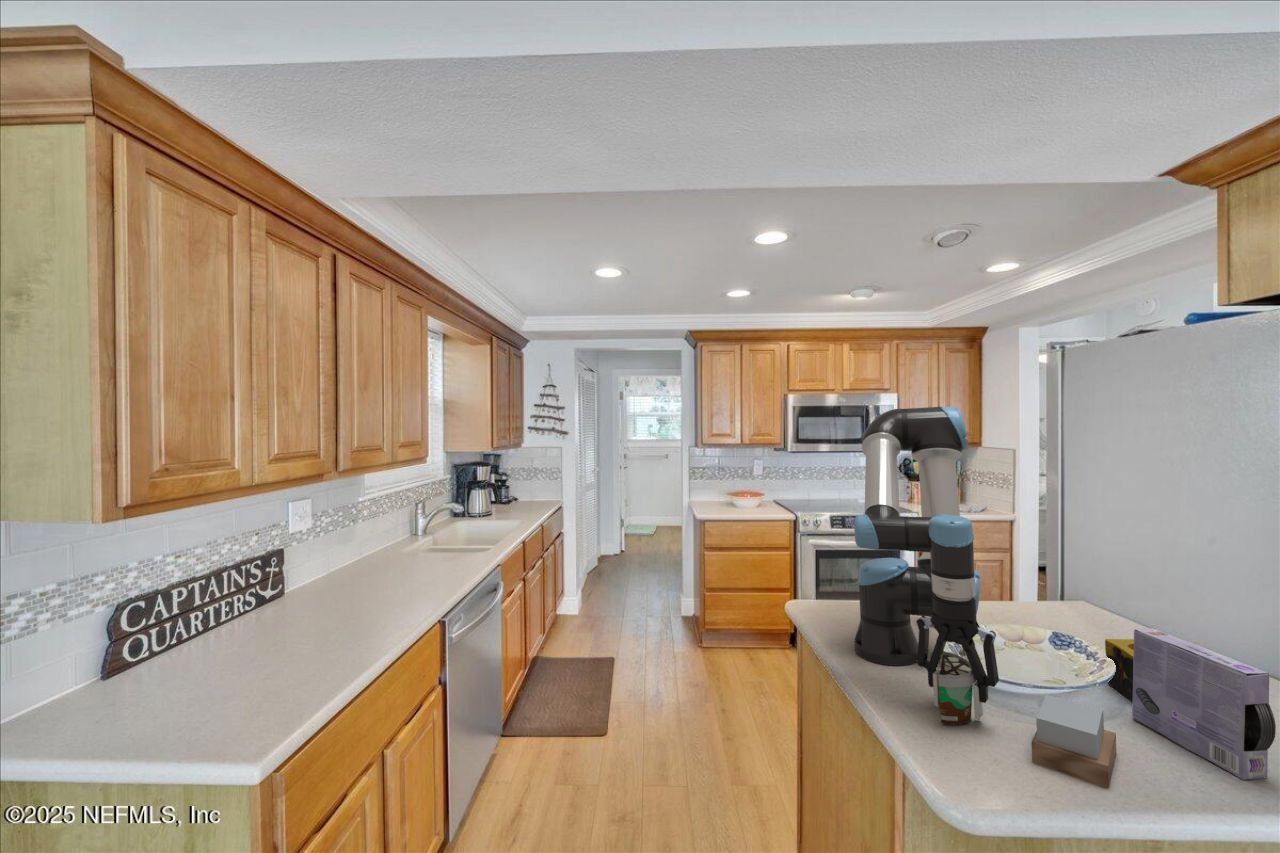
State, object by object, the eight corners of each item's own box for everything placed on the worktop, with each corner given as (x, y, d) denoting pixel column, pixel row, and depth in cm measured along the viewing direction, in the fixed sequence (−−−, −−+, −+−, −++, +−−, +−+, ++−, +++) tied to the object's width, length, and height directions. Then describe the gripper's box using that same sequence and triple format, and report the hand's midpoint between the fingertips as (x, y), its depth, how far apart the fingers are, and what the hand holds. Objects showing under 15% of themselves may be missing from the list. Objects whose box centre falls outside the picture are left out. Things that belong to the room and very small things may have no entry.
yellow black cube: (1199, 711, 105) (1197, 660, 105) (1138, 708, 107) (1136, 658, 107) (1160, 685, 115) (1158, 639, 115) (1105, 683, 117) (1103, 637, 117)
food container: (978, 735, 100) (975, 682, 100) (940, 726, 104) (938, 675, 103) (978, 703, 111) (976, 655, 111) (944, 696, 114) (942, 649, 114)
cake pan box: (1280, 783, 85) (1276, 671, 85) (1252, 786, 85) (1248, 674, 84) (1154, 716, 104) (1150, 625, 104) (1130, 719, 104) (1126, 628, 103)
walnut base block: (1032, 764, 93) (1031, 741, 93) (1045, 733, 101) (1044, 712, 101) (1109, 791, 86) (1108, 766, 86) (1116, 755, 94) (1115, 732, 94)
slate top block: (1037, 740, 93) (1036, 717, 93) (1047, 715, 100) (1046, 694, 100) (1097, 759, 87) (1096, 735, 87) (1104, 731, 94) (1102, 709, 94)
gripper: (895, 590, 111) (900, 700, 112) (1006, 611, 97) (1011, 737, 98) (908, 581, 117) (913, 686, 117) (1016, 600, 102) (1021, 719, 103)
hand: (958, 709), depth 107 cm, fingers closed on food container, 6 cm apart
